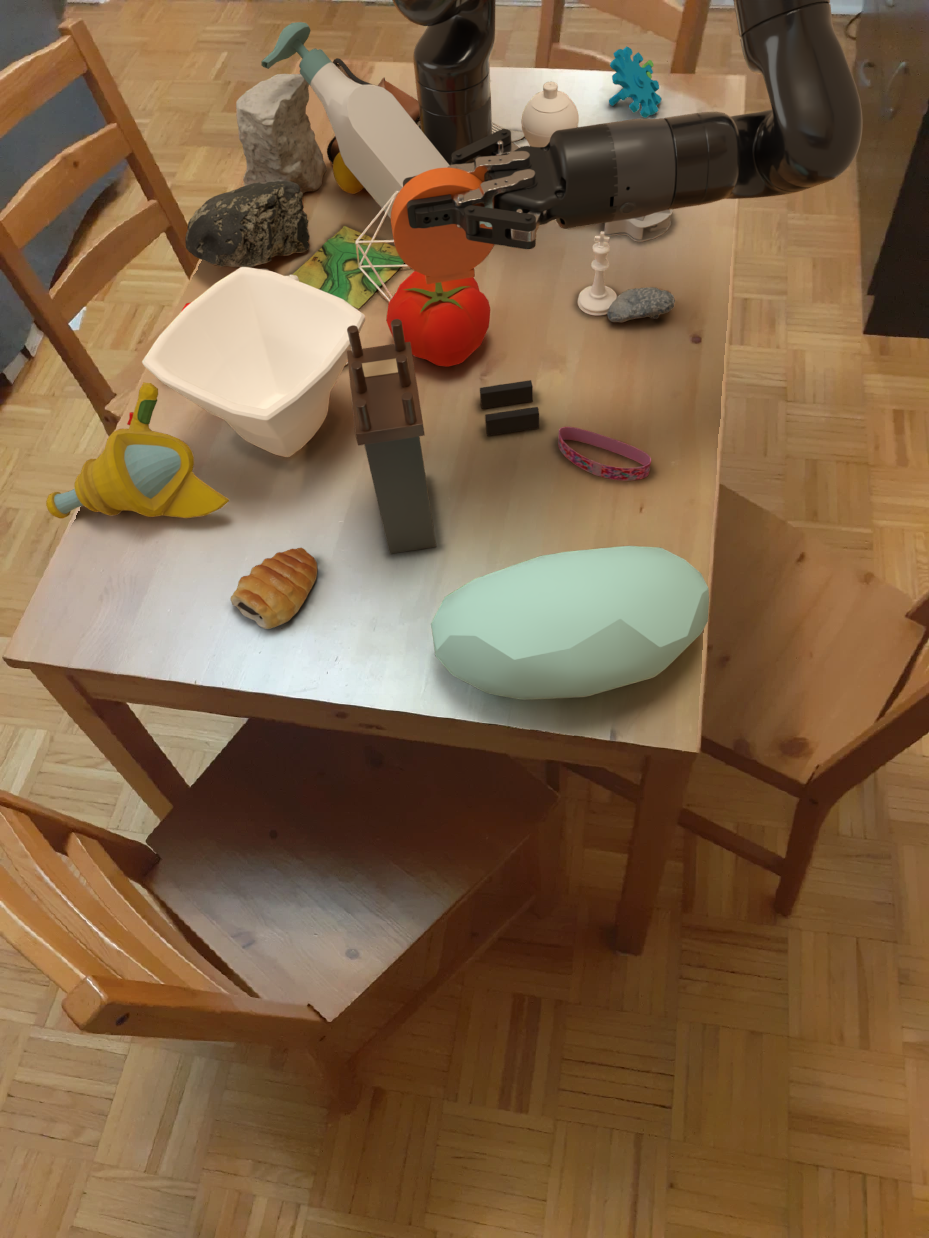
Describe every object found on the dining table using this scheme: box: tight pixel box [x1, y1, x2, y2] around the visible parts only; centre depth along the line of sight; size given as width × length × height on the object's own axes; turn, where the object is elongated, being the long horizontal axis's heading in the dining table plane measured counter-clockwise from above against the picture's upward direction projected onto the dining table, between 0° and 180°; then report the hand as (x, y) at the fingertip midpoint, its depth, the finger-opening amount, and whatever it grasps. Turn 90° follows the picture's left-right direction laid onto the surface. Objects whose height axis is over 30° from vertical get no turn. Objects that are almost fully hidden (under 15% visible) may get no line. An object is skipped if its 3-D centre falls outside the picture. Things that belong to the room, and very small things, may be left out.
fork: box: [492, 121, 525, 143], centre depth 134 cm, size 3×16×2 cm, turn 89°
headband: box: [557, 426, 652, 482], centre depth 102 cm, size 11×4×2 cm, turn 62°
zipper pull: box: [603, 209, 674, 243], centre depth 122 cm, size 8×18×4 cm, turn 82°
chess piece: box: [577, 230, 618, 317], centre depth 112 cm, size 5×5×10 cm
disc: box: [390, 168, 495, 284], centre depth 80 cm, size 9×2×9 cm, turn 98°
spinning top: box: [520, 81, 580, 147], centre depth 125 cm, size 8×8×12 cm
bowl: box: [141, 266, 366, 458], centre depth 102 cm, size 19×19×14 cm
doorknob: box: [332, 152, 365, 195], centre depth 128 cm, size 8×8×8 cm
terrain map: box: [291, 225, 405, 310], centre depth 122 cm, size 12×12×1 cm
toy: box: [45, 382, 230, 519], centre depth 100 cm, size 10×20×15 cm
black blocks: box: [479, 380, 540, 437], centre depth 106 cm, size 6×5×2 cm
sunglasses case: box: [326, 77, 420, 165], centre depth 136 cm, size 18×7×7 cm
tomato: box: [385, 270, 491, 367], centre depth 110 cm, size 13×12×8 cm
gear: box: [608, 46, 662, 119], centre depth 135 cm, size 11×6×10 cm
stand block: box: [364, 436, 437, 555], centre depth 93 cm, size 5×9×18 cm, turn 8°
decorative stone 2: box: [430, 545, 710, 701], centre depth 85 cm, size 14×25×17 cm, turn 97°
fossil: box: [606, 286, 676, 323], centre depth 113 cm, size 8×4×5 cm
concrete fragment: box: [184, 181, 310, 268], centre depth 122 cm, size 15×10×15 cm
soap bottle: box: [260, 21, 450, 220], centre depth 117 cm, size 11×8×27 cm
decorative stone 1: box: [235, 73, 327, 194], centre depth 126 cm, size 10×9×15 cm
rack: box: [347, 319, 426, 446], centre depth 83 cm, size 6×10×4 cm, turn 8°
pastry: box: [230, 547, 318, 630], centre depth 95 cm, size 9×7×4 cm
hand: (407, 204), depth 77 cm, fingers closed on disc, 2 cm apart
